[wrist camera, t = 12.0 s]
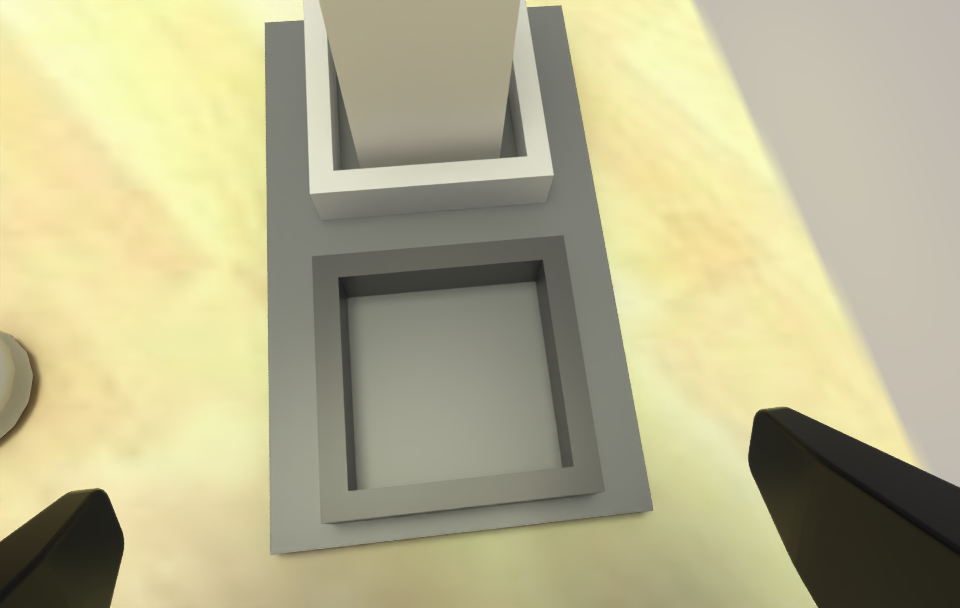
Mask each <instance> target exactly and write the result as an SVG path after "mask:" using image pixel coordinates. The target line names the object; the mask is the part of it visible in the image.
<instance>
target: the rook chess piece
mask: <svg viewBox="0 0 960 608" xmlns="http://www.w3.org/2000/svg"><path fill="white" fill-rule="evenodd" d="M32 380H33V373H32V369H31V366H30V362H29V358H28V354H27V352H26V351H25V350H24V349H23V348H22V347H21V346H20V345H19V343H18V342H17V341H16V340H15V339H14V338H13V337H12V336H11V335H8V334H6V333H3V332H0V438H1V437H2V436H4V435H5V434H6V433H7V432H8V431H9V430H11V429H12V428H13V427H14V426H15V424H16V422H17V421H18V419H19V417H20V416H21V414H22V412H23V411H24V409H25V407H26V406H27V404H28V402H29V398H30V392H31V386H32Z"/></svg>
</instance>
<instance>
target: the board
mask: <svg viewBox="0 0 960 608" xmlns="http://www.w3.org/2000/svg"><path fill="white" fill-rule="evenodd" d="M303 4H304V20H302V21H285V22H268V23H265V83H266V177H267V271H268V364H269V458H270V551H271V555H272V554H281V553H290V552H298V551H307V550H316V549H324V548H333V547H342V546H350V545H359V544H367V543H376V542H385V541H393V540H402V539H411V538H419V537H428V536H437V535H445V534H454V533H463V532H471V531H480V530H489V529H497V528H506V527H514V526H523V525H532V524H540V523H549V522H558V521H566V520H575V519H584V518H592V517H601V516H610V515H618V514H627V513H635V512H644V511H653V505H652V500H651V494H650V489H649V484H648V478H647V473H646V467H645V462H644V456H643V451H642V445H641V440H640V434H639V429H638V423H637V418H636V412H635V407H634V401H633V396H632V390H631V385H630V379H629V374H628V368H627V363H626V357H625V352H624V347H623V341H622V336H621V330H620V325H619V319H618V314H617V308H616V303H615V297H614V292H613V286H612V281H611V275H610V270H609V264H608V259H607V253H606V248H605V242H604V237H603V231H602V226H601V220H600V215H599V210H598V204H597V199H596V193H595V188H594V182H593V177H592V171H591V166H590V160H589V155H588V149H587V144H586V138H585V133H584V127H583V122H582V116H581V111H580V105H579V100H578V94H577V89H576V83H575V78H574V73H573V67H572V62H571V56H570V51H569V45H568V40H567V34H566V29H565V23H564V18H563V12H562V7H561V6H544V7H526V1H525V0H520V7H519V14H518V22H517V30H516V37H515V45H514V52H513V60H512V67H511V75H510V83H509V90H508V98H507V105H506V113H505V121H504V128H503V136H502V143H501V151H500V158H498V159H485V160H472V161H458V162H445V163H431V164H418V165H405V166H391V167H378V168H364V169H360V165H359V161H358V157H357V153H356V149H355V145H354V141H353V137H352V133H351V129H350V125H349V121H348V117H347V113H346V109H345V105H344V101H343V97H342V92H341V88H340V84H339V80H338V76H337V72H336V68H335V64H334V60H333V56H332V52H331V48H330V44H329V40H328V36H327V32H326V28H325V24H324V20H323V16H322V12H321V8H320V4H319V0H303Z"/></svg>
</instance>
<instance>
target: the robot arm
mask: <svg viewBox="0 0 960 608" xmlns="http://www.w3.org/2000/svg"><path fill="white" fill-rule="evenodd" d="M748 462H749V467H750V470H751V473H752V475H753V478H754V480H755V482H756V484H757V486H758V489H759V491H760V493H761V495H762V497H763V500H764V502H765V504H766V506H767V508H768V511H769V513H770V515H771V517H772V519H773V522H774V524H775V526H776V528H777V530H778V533H779V535H780V537H781V539H782V541H783V544H784V546H785V548H786V550H787V552H788V554H789V556H790V558H791V561H792V563H793V565H794V567H795V568H796V570H797V572H798V574H799V576H800V577H801V579H802V581H803V583H804V584H805V586H806V588H807V589H808V591H809V593H810V595H811V596H812V598H813V600H814V601H815V603H816V605H817V606H818V608H960V487H957V486H955V485H953V484H951V483H949V482H947V481H945V480H942V479H940V478H938V477H936V476H934V475H932V474H930V473H927V472H925V471H923V470H921V469H919V468H917V467H915V466H913V465H910V464H908V463H906V462H904V461H902V460H900V459H898V458H895V457H893V456H891V455H889V454H887V453H885V452H883V451H880V450H878V449H876V448H874V447H872V446H870V445H868V444H865V443H863V442H861V441H859V440H857V439H855V438H853V437H850V436H848V435H846V434H844V433H842V432H840V431H838V430H835V429H833V428H831V427H829V426H827V425H825V424H823V423H820V422H818V421H816V420H814V419H812V418H810V417H808V416H805V415H803V414H801V413H799V412H797V411H795V410H793V409H790V408H788V407H776V408H768V409H761V410H759V411H758V412H757V413H756V414H755V417H754V420H753V427H752V433H751V440H750V446H749V453H748ZM123 551H124V536H123V532H122V529H121V527H120V524H119V522H118V519H117V517H116V514H115V511H114V509H113V506H112V504H111V501H110V499H109V497H108V495H107V493H106V492H105V491H104V490H102V489H99V488H94V489H86V490H77V491H71V492H69V493H66V494H65V495H63V496H62V497H61V498H59V499H58V500H57V501H55V502H54V503H52V504H51V505H50V506H48V507H47V508H46V509H44V510H43V511H42V512H40V513H39V514H37V515H36V516H35V517H33V518H32V519H31V520H29V521H28V522H26V523H25V524H24V525H22V526H21V527H20V528H18V529H17V530H15V531H14V532H13V533H11V534H10V535H9V536H7V537H6V538H4V539H3V540H2V541H0V608H110V605H111V601H112V597H113V593H114V589H115V585H116V580H117V576H118V572H119V568H120V564H121V560H122V556H123Z"/></svg>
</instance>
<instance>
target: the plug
mask: <svg viewBox="0 0 960 608" xmlns="http://www.w3.org/2000/svg"><path fill="white" fill-rule="evenodd" d="M319 4H320V8H321V12H322V16H323V20H324V24H325V28H326V32H327V36H328V40H329V44H330V48H331V52H332V56H333V60H334V64H335V68H336V72H337V76H338V80H339V84H340V88H341V92H342V97H343V101H344V105H345V109H346V113H347V117H348V121H349V125H350V129H351V133H352V137H353V141H354V145H355V149H356V153H357V157H358V161H359V165H360V169H364V168H378V167H391V166H405V165H418V164H431V163H445V162H458V161H472V160H485V159H498V158H500V151H501V143H502V136H503V128H504V121H505V113H506V105H507V98H508V90H509V83H510V75H511V67H512V60H513V52H514V45H515V37H516V30H517V22H518V14H519V7H520V0H319Z"/></svg>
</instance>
